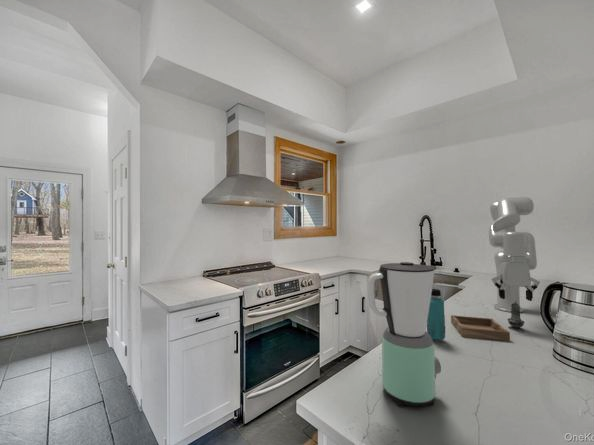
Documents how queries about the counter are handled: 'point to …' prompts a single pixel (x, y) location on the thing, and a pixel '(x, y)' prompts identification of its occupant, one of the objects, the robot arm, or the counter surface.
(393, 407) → the counter surface
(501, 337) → the tray
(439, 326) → the beverage bottle
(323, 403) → the counter surface
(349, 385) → the counter surface
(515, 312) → the dark grey rounded piece
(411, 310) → the mint green blender
